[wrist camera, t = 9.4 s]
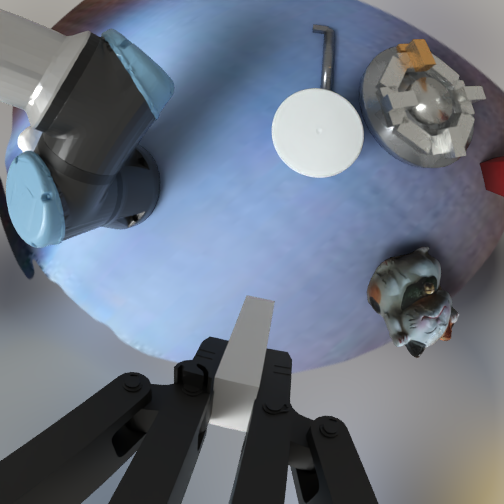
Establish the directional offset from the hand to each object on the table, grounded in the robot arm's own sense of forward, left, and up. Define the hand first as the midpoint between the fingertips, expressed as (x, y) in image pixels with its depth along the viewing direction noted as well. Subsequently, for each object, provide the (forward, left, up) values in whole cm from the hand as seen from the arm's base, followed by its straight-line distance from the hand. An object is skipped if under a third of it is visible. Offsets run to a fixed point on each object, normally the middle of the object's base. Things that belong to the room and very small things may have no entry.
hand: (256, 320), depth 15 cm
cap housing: (+18, +24, -29) cm, 42 cm away
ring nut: (+18, +24, -26) cm, 40 cm away
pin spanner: (+2, +27, -30) cm, 40 cm away
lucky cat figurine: (+23, -6, -30) cm, 38 cm away
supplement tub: (+2, +13, -30) cm, 32 cm away
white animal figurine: (-54, +10, -30) cm, 62 cm away
